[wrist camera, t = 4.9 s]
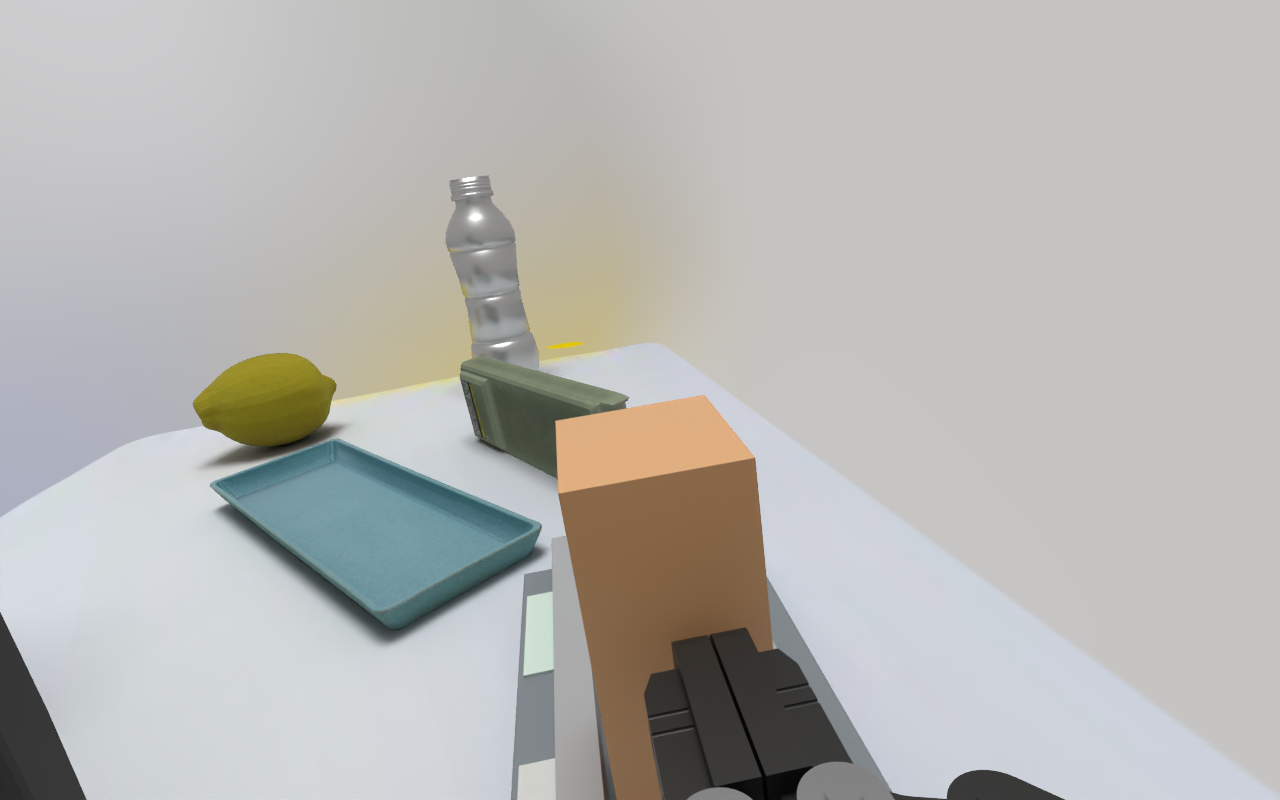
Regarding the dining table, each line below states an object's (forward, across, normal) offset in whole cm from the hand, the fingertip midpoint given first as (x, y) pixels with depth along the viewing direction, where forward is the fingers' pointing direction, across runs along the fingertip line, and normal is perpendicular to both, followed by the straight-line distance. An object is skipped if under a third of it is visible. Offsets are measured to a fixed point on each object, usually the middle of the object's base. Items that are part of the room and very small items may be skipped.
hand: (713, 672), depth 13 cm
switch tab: (+3, 0, -6) cm, 7 cm away
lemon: (+50, -28, -8) cm, 57 cm away
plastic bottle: (+57, -8, -7) cm, 58 cm away
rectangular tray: (+29, -16, -8) cm, 34 cm away
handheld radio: (+32, -3, -8) cm, 33 cm away
